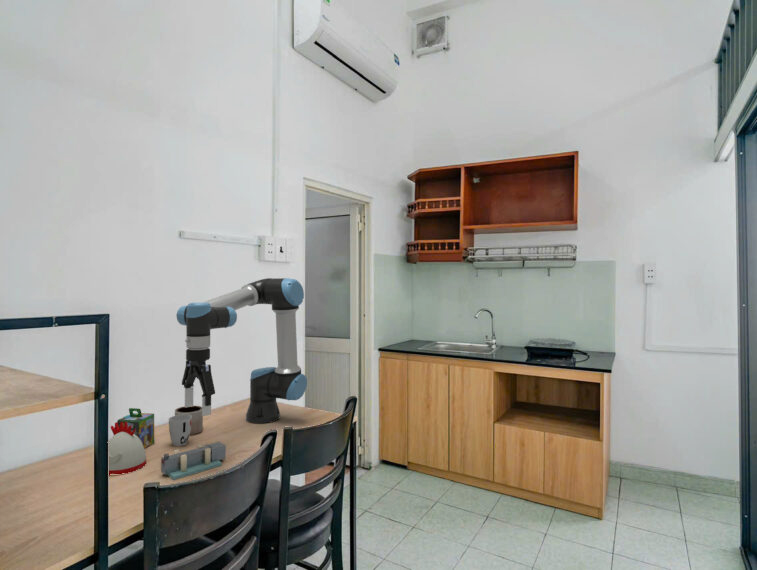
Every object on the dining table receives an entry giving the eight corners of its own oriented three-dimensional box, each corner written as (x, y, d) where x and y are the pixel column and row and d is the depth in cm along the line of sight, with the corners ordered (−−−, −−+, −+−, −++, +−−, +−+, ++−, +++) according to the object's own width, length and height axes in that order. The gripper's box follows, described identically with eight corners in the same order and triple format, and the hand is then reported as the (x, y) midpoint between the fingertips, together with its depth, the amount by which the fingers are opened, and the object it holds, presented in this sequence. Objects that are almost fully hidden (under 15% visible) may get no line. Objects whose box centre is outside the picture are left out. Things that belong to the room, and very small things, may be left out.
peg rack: (208, 457, 157) (208, 440, 157) (221, 465, 150) (222, 447, 150) (161, 470, 145) (161, 452, 145) (173, 479, 138) (173, 460, 138)
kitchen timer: (115, 457, 155) (116, 415, 155) (154, 459, 154) (155, 416, 154) (88, 474, 141) (89, 428, 141) (130, 476, 140) (131, 429, 140)
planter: (168, 434, 179) (168, 410, 179) (188, 426, 189) (189, 404, 189) (188, 438, 175) (188, 414, 175) (208, 430, 185) (208, 407, 185)
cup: (182, 448, 164) (183, 421, 164) (163, 446, 166) (163, 420, 166) (195, 441, 172) (196, 415, 172) (177, 439, 174) (177, 413, 174)
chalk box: (155, 443, 169) (155, 404, 169) (139, 452, 160) (139, 411, 160) (132, 441, 170) (133, 403, 170) (115, 450, 161) (116, 410, 161)
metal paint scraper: (218, 454, 157) (219, 438, 157) (225, 458, 153) (225, 441, 153) (159, 470, 142) (160, 453, 142) (165, 475, 139) (166, 457, 139)
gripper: (172, 345, 155) (171, 405, 155) (203, 354, 137) (203, 421, 138) (193, 343, 160) (192, 401, 160) (226, 351, 143) (225, 416, 143)
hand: (197, 410), depth 149 cm, fingers open, 13 cm apart
